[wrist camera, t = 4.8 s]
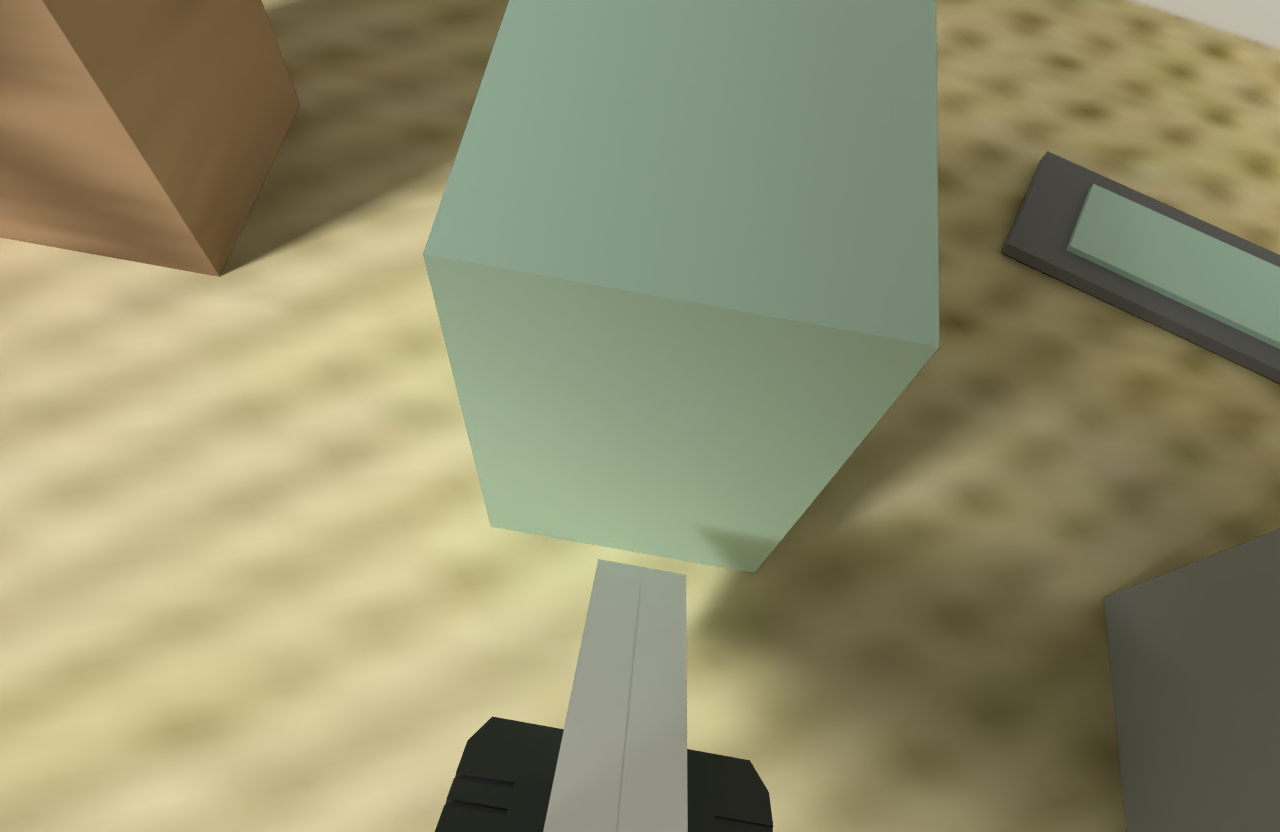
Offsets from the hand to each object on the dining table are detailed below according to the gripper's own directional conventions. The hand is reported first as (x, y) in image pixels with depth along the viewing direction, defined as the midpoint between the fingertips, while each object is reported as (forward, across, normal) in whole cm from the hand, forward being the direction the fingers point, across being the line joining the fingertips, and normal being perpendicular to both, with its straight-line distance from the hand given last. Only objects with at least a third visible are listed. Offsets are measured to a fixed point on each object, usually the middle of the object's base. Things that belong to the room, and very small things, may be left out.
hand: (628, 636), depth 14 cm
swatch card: (+12, +15, +7) cm, 20 cm away
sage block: (+6, 0, +1) cm, 7 cm away
